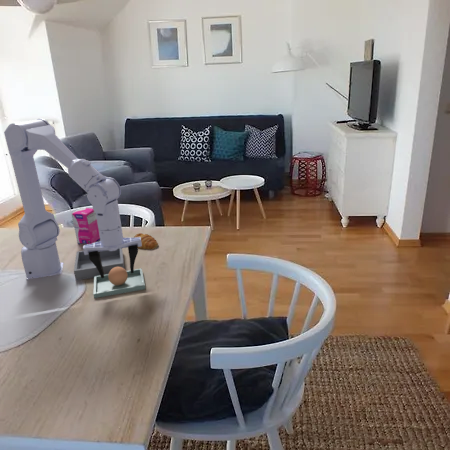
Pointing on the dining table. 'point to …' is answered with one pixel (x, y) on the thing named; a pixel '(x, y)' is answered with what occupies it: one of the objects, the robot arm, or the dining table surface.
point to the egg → (117, 276)
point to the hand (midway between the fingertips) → (117, 273)
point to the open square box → (89, 270)
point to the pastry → (147, 241)
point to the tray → (107, 288)
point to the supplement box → (85, 226)
